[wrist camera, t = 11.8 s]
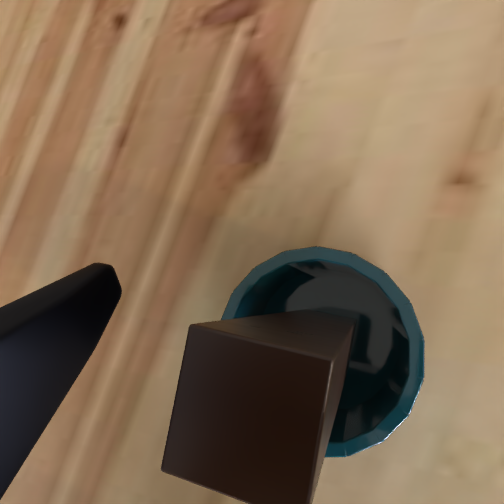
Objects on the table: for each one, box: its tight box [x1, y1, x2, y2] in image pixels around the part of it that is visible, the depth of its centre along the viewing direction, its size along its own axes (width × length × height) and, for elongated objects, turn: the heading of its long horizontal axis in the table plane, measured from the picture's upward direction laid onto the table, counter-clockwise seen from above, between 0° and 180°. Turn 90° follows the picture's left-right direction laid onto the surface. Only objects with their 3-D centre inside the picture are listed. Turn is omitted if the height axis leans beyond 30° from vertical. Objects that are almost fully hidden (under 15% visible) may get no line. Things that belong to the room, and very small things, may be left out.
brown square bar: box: [161, 309, 356, 504], centre depth 12 cm, size 2×2×13 cm
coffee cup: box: [221, 246, 425, 457], centre depth 16 cm, size 7×8×5 cm
